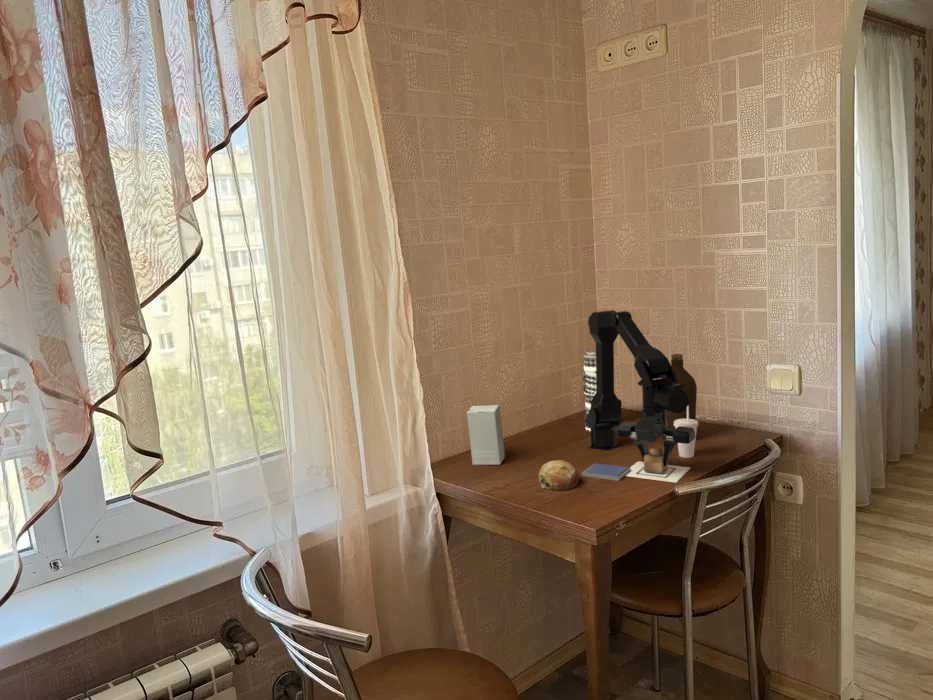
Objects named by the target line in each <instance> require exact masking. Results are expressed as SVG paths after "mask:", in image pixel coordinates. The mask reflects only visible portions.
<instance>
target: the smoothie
mask: <svg viewBox="0 0 933 700" xmlns="http://www.w3.org/2000/svg"><path fill="white" fill-rule="evenodd" d="M674 426H675V429H676V428H678V427H679V426H681V427H692V428H693V429H694V430H695V439H693V440H692V441H691V442H690V443H688V444H684V443H677V449H678V456H679V457H681V458H688V459H689V458H693V457H694V455H695V446H696V438H697V431H698V430H697V429H698V427H699V421H698V420H697V419H696V420H694V419H689V406H687V419H677V420H675V421H674Z"/></svg>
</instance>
